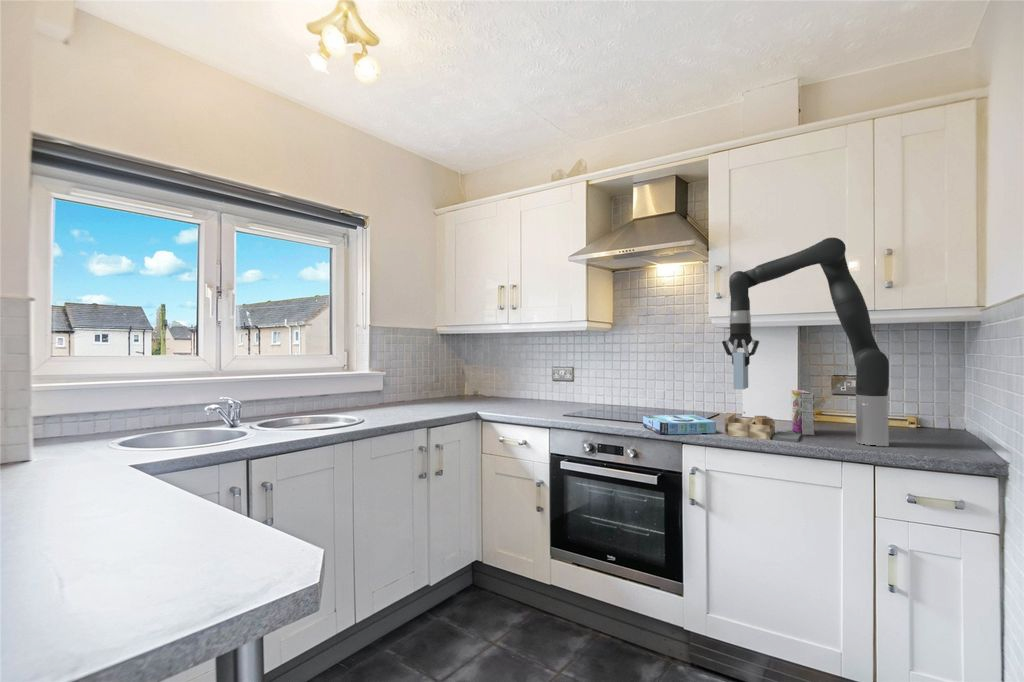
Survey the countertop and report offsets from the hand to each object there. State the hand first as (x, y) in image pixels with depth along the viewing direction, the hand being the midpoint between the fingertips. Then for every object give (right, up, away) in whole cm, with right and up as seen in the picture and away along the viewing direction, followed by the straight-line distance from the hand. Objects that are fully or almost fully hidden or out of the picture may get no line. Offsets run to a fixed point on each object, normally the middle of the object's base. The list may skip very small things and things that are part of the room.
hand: (740, 365), depth 198 cm
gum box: (-10, -24, +10) cm, 28 cm away
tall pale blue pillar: (0, -9, 0) cm, 9 cm away
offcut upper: (+7, -23, -5) cm, 24 cm away
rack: (+3, -27, -2) cm, 27 cm away
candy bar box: (+25, -27, +1) cm, 37 cm away
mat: (+13, -27, -9) cm, 31 cm away
